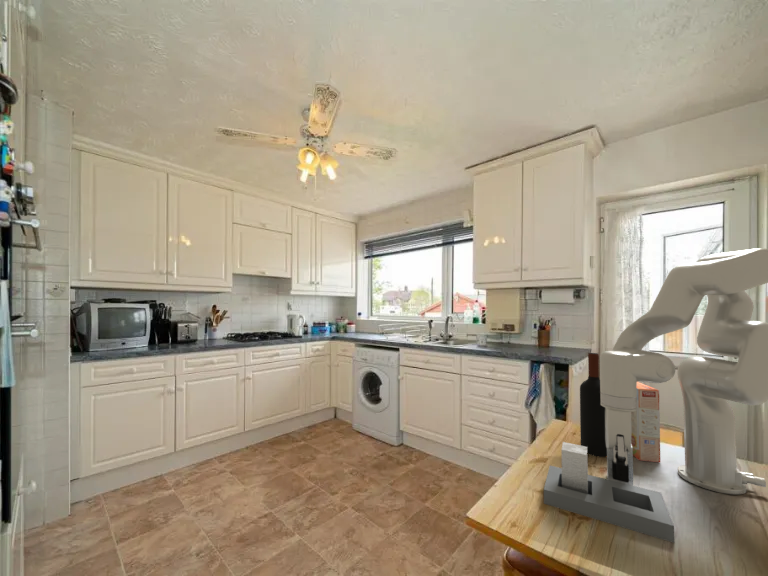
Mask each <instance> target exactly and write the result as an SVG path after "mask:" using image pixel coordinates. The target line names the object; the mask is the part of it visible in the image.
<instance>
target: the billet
mask: <svg viewBox="0 0 768 576" xmlns="http://www.w3.org/2000/svg"><path fill="white" fill-rule="evenodd" d="M588 455H589V454H587V447H585V446H581V444H576V443H575V444H574V443H570V442H565V441H562V446H561V468H562V487H563V488H566V489H570V490H574V491H577V492H581V493H585V494H588V475H589V471H588V469H589V464H588V463H589V462H588V460H589V459H588V458H589V457H588Z"/></svg>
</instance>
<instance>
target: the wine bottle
mask: <svg viewBox="0 0 768 576" xmlns="http://www.w3.org/2000/svg"><path fill="white" fill-rule="evenodd" d="M587 359H588V360H587V361H588V363H587V364H588V375H587V376H588V377H587V379H586V380H584V381H582V383H581V384H580V385H579V410H580V411H579V412H580V413H579V414H580V415H579V417H580V418H579V421H580V423H579V424H580V428H579V429H580V433H579V434H580V445H581V446H585V447H587V453H588V454H587V455H589V454H590V455H589V456H593V455H594V456H593V457H597V456H599V458H607V457H606V456H607V448H606V442H605V407H603V406H601V402H600V353H599V352H588V354H587Z"/></svg>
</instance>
